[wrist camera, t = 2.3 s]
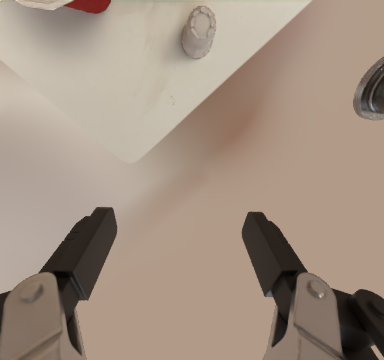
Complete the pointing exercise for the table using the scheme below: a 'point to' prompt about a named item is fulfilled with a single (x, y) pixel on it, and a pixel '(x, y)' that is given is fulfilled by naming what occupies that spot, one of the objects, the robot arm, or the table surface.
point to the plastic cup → (68, 4)
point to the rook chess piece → (199, 32)
